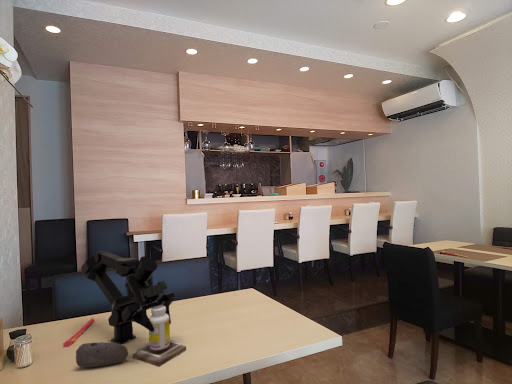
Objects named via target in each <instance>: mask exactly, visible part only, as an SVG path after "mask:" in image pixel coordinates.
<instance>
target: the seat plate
mask: <svg viewBox="0 0 512 384" xmlns="http://www.w3.org/2000/svg"><path fill="white" fill-rule="evenodd" d="M185 351H187V346H186V345H183V343H181V342H180V343H179V342H176V341H173V340H170V345H169V346H168V347H167V348H165V349H162V350H152V349H151V348H150V345H149V344H146V345H145V346H143V347H141V348H139V349H137V350H136V352H135V353H133V354H132V358H133V359H135V360H139V361H142V362H144V363H148V364H150V365H154V366H157V367H160V366H163V365H164V364H166V363H168V362H169V361H171V360H173V359H174V358H175V357H177V356H179V355H181V354H182V353H184V352H185Z"/></svg>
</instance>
